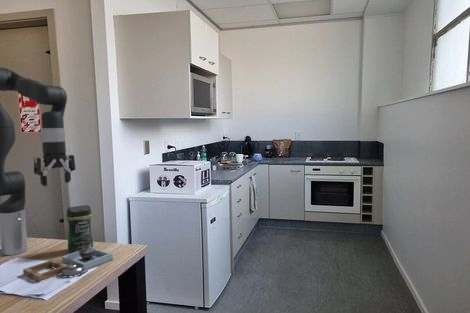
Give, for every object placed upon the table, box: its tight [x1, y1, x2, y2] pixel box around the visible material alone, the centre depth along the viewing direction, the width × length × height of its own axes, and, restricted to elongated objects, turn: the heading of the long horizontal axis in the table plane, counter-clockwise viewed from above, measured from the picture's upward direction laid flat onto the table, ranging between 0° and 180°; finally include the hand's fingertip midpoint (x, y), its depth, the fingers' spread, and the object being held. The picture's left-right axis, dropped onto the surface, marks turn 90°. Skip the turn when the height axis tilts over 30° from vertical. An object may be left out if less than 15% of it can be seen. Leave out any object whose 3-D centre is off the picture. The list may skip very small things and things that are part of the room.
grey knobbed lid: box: [61, 264, 85, 278], centre depth 121 cm, size 7×7×3 cm
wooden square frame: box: [22, 259, 69, 283], centre depth 121 cm, size 10×10×2 cm
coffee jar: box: [66, 204, 94, 253], centre depth 143 cm, size 10×8×19 cm
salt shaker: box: [79, 229, 95, 263], centre depth 131 cm, size 6×6×12 cm
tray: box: [61, 247, 114, 272], centre depth 131 cm, size 14×12×2 cm
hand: (56, 184), depth 128 cm, fingers open, 8 cm apart
